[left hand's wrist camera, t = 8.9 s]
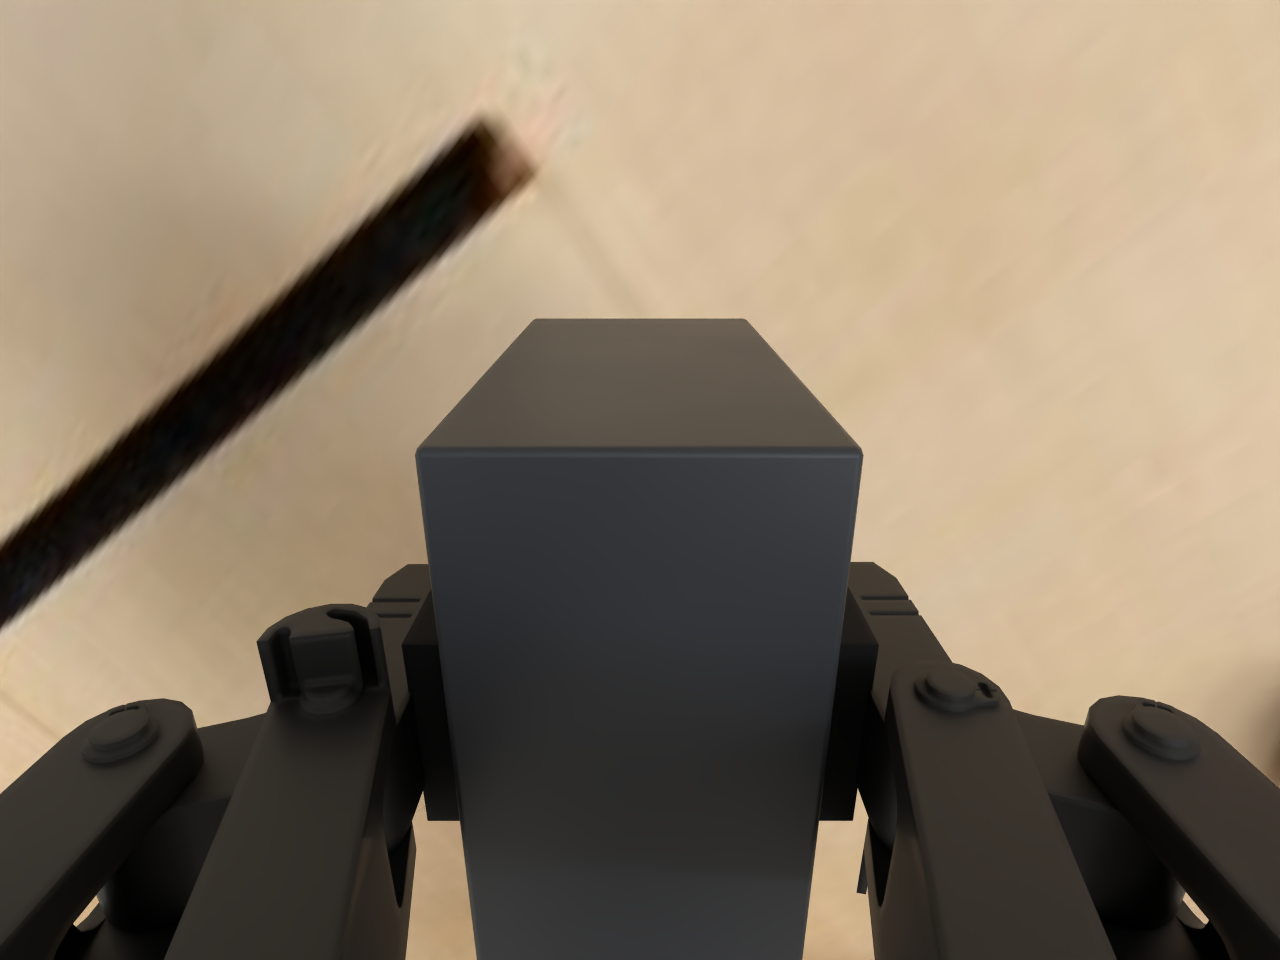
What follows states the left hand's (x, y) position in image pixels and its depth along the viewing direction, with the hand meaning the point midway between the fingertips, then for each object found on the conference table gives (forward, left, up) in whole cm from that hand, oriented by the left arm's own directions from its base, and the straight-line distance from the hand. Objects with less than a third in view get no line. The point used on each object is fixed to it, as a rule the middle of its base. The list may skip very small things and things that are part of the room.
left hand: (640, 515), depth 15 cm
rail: (+12, 0, 0) cm, 12 cm away
